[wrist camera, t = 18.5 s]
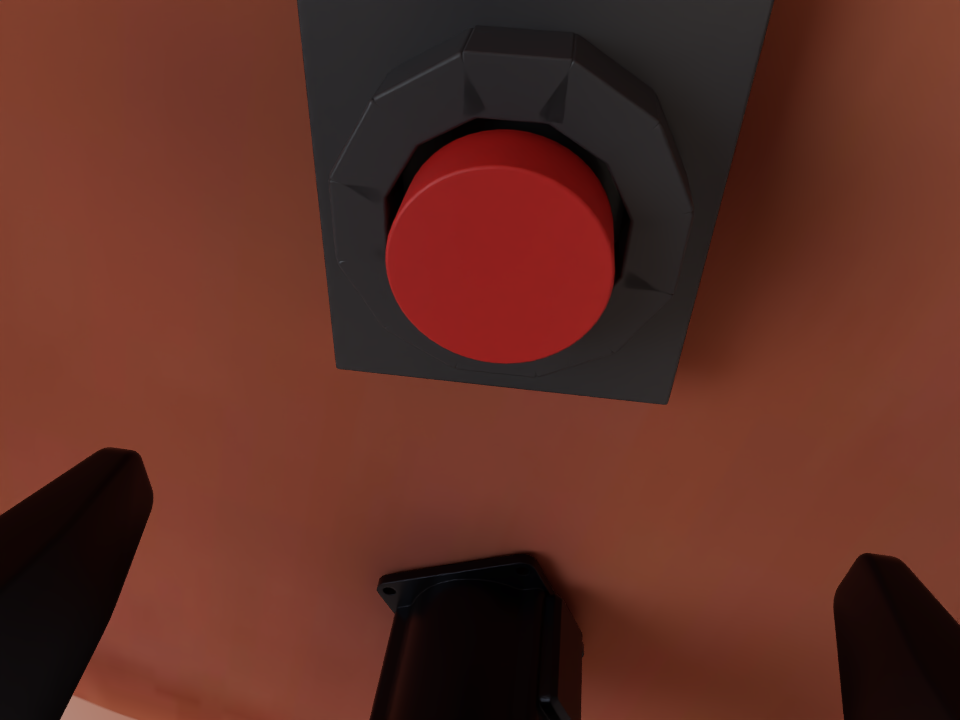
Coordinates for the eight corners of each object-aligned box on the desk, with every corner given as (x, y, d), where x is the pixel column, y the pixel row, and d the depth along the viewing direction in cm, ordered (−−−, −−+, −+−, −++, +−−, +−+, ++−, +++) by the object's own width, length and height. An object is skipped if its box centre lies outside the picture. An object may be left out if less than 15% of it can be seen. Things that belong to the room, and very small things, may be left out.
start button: (597, 326, 17) (597, 375, 15) (405, 306, 17) (388, 353, 16) (629, 137, 14) (632, 177, 13) (399, 118, 14) (379, 155, 13)
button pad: (663, 364, 21) (673, 452, 18) (352, 330, 22) (317, 411, 19) (774, -83, 14) (815, -48, 12) (314, -112, 15) (250, -85, 12)
